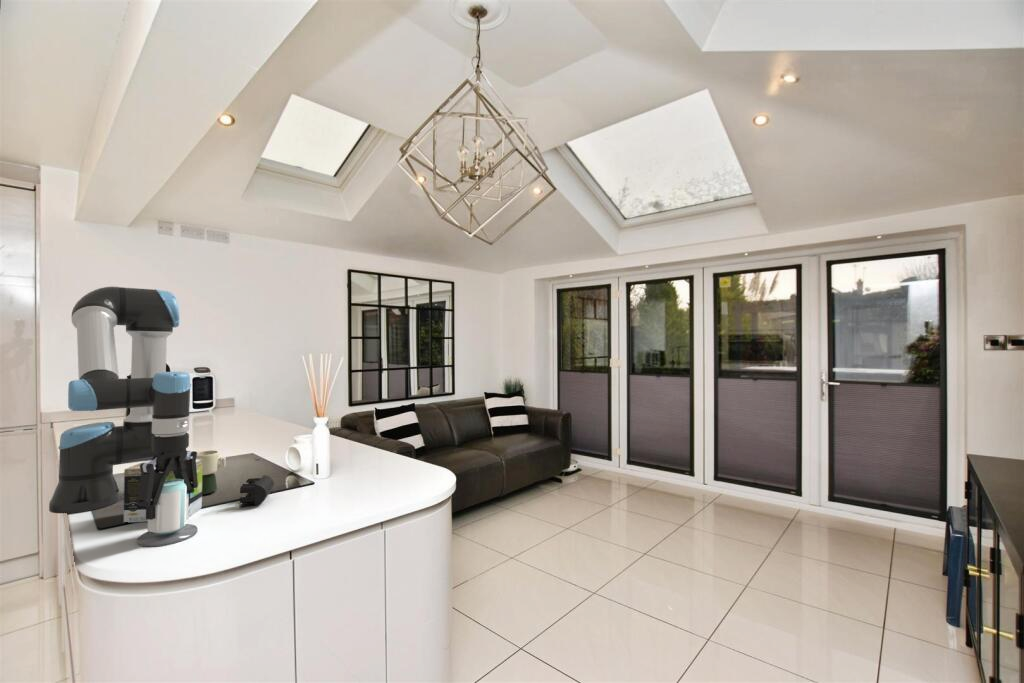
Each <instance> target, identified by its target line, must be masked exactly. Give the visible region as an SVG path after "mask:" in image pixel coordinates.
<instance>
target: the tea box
mask: <svg viewBox="0 0 1024 683" xmlns="http://www.w3.org/2000/svg"><path fill="white" fill-rule="evenodd" d="M150 461H152V460H147V461H141V462H138V463H137V464H134V465H133V466H129V467H127V468H125V469H124V474H123V477H124V479H123V523H124V522H128V523H144V522H145V523H146V522H147V523H148V519H146V506H141V505H137V500H138V493H139V486H140V479H141V470H140V465H141V464H142V463H148V462H150ZM196 469H197V480H198V487H197V488H194V489H195V490H194V492H193V493H190V504H189V505H188V518H189V517H191V516H192V515H194V514H195V513H197V512H198V511H199V510H201V509H202V506H203V505H202V504H203V494H202V459H196ZM160 473H163V472H160ZM167 479H176V478H175V475H174V473H173V471H171V472H170V473H169V475H168V476H167V477H166V479H165V480H167ZM191 483H192V482H191Z"/></svg>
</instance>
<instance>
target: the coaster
mask: <svg viewBox="0 0 1024 683" xmlns="http://www.w3.org/2000/svg"><path fill="white" fill-rule="evenodd" d="M197 533H198V527H197V525H194V524H189V523H186V525H185V526H184V527H182V528H181V529H180V530H178V531H175V532H172V533H168V534H156V533H154V532H149V531H148V530H147V531H146V532H144V533H142V534H140V535H139V536H138V537H137V539H136V540H137V542H136V543H137V545H138V546H140V547H145V548H157V547H164V546H169V545H173V544H174V545H175V544H177V543H181V542H183V541H186V540H188V539H190V538H193V537H194V536H195V535H196V534H197Z"/></svg>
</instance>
